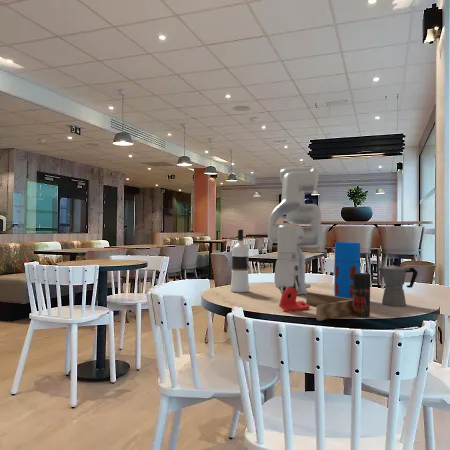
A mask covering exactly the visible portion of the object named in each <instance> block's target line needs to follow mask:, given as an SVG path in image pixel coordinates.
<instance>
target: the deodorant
mask: <svg viewBox="0 0 450 450" xmlns="http://www.w3.org/2000/svg"><path fill="white" fill-rule="evenodd" d="M352 316H353V317H355V316H357V317H356V318H370V317H371V273H363V272H360V273H353V314H352ZM369 316H370V317H369Z"/></svg>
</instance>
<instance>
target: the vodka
mask: <svg viewBox="0 0 450 450" xmlns="http://www.w3.org/2000/svg"><path fill="white" fill-rule="evenodd" d="M249 251H250V249H249V246H247V244H245V243H244V229H238V230H237V243H236V244H235V245H233V246H232V247H231V280H230V281H231V283H230V287H229V288H230V289H229V290H230V291H231V292H232V293H239V294H240V293H241V294H242V293H248V292H249V291H250V284H249V261H250V260H249V258H250V257H249V256H250V255H249V254H250V253H249Z"/></svg>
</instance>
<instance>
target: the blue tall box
mask: <svg viewBox="0 0 450 450" xmlns="http://www.w3.org/2000/svg"><path fill="white" fill-rule="evenodd" d="M353 273H361V243H360V242H349V241H343V242H342V241H337V242H335V243H334V281H333V282H334V287H333V288H334V289H333V290H334V291H333V292H334V294H333V295H334V296H337V297H343V298H349V299H353Z"/></svg>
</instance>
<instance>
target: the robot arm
mask: <svg viewBox="0 0 450 450" xmlns="http://www.w3.org/2000/svg"><path fill="white" fill-rule="evenodd" d="M279 179H280V182H281V185H282V187H281V202H280V203H279V204H278V205H277V206H276V207H275V208H274V209H273V211H271V213H270V216H269V219H268V227H267V238H268V240H269V242H271V243H273V244H277V253H276V254H277V257H276V258H277V259H276V262H275V266H274V267H275V268H274V284H275V288H277V289H278V290H279V291H280V294H281V295H282V294H283V292H284V291H285V290H286V289H287V288H288V287H294V288H295V291H297V292H298V294H297V296H302V295H303V296H304V295H306V292H309V291H308V290H307V289H310V288H311V284H310V283H306V279H305V278H306V256H305V254H304V252H303V251H302V249H301V248H317V247H319V246H320V245H321V240H322V239H321V238H322V234H321V233H322V229H321V228H322V215H321V214H322V212H321V209H320V206H319V205H317V204H316V203H305V202H306V201H305V198H306V197H305V196H306V195H305V192H314V191H316V189H317V187H318V184H319V179H320V178H319V170H318V169H317V168H316V167H314V166H312V167H311V166H306V167H305V166H302V167H299V166H297V167H294V166H293V167H285V168H282V169H280V171H279ZM284 216H286V222H288V223H289V224H280V223H279V224H277V221H278V220H279V219H280V218H282V217H284ZM301 225H309V226H301ZM291 295H292V293H290V294H289V295H288V298H289V297H290V296H291Z"/></svg>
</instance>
